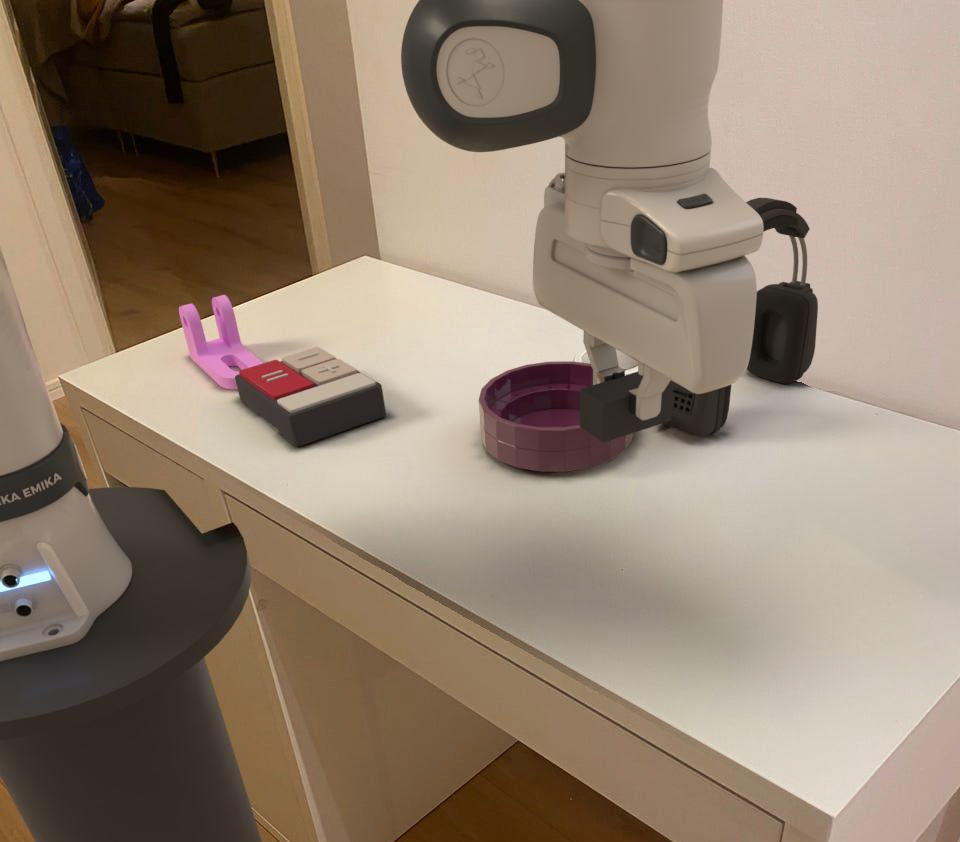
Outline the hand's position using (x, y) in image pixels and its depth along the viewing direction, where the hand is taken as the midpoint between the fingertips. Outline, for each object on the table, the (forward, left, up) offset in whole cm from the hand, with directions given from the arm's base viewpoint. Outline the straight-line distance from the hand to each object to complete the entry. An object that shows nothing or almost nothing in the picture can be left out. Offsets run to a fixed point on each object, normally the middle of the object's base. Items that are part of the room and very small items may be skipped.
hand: (626, 403), depth 71 cm
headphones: (+30, +20, -16) cm, 39 cm away
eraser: (0, 0, -2) cm, 2 cm away
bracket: (-13, +62, -16) cm, 65 cm away
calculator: (-9, +46, -16) cm, 49 cm away
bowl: (+10, +24, -16) cm, 30 cm away
